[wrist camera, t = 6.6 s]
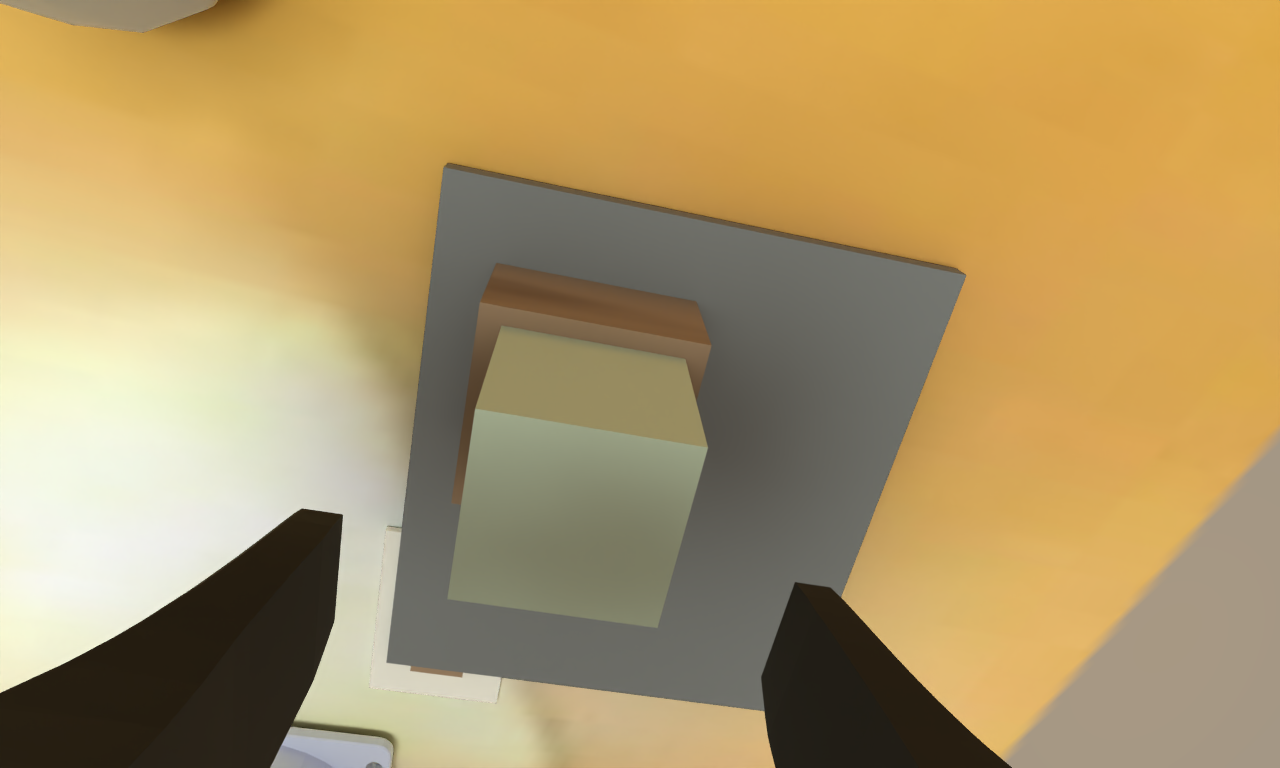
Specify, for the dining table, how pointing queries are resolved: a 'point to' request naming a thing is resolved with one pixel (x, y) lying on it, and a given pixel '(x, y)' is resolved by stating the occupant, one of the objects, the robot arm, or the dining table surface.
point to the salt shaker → (114, 12)
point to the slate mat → (731, 418)
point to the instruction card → (411, 676)
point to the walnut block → (578, 327)
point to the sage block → (577, 479)
